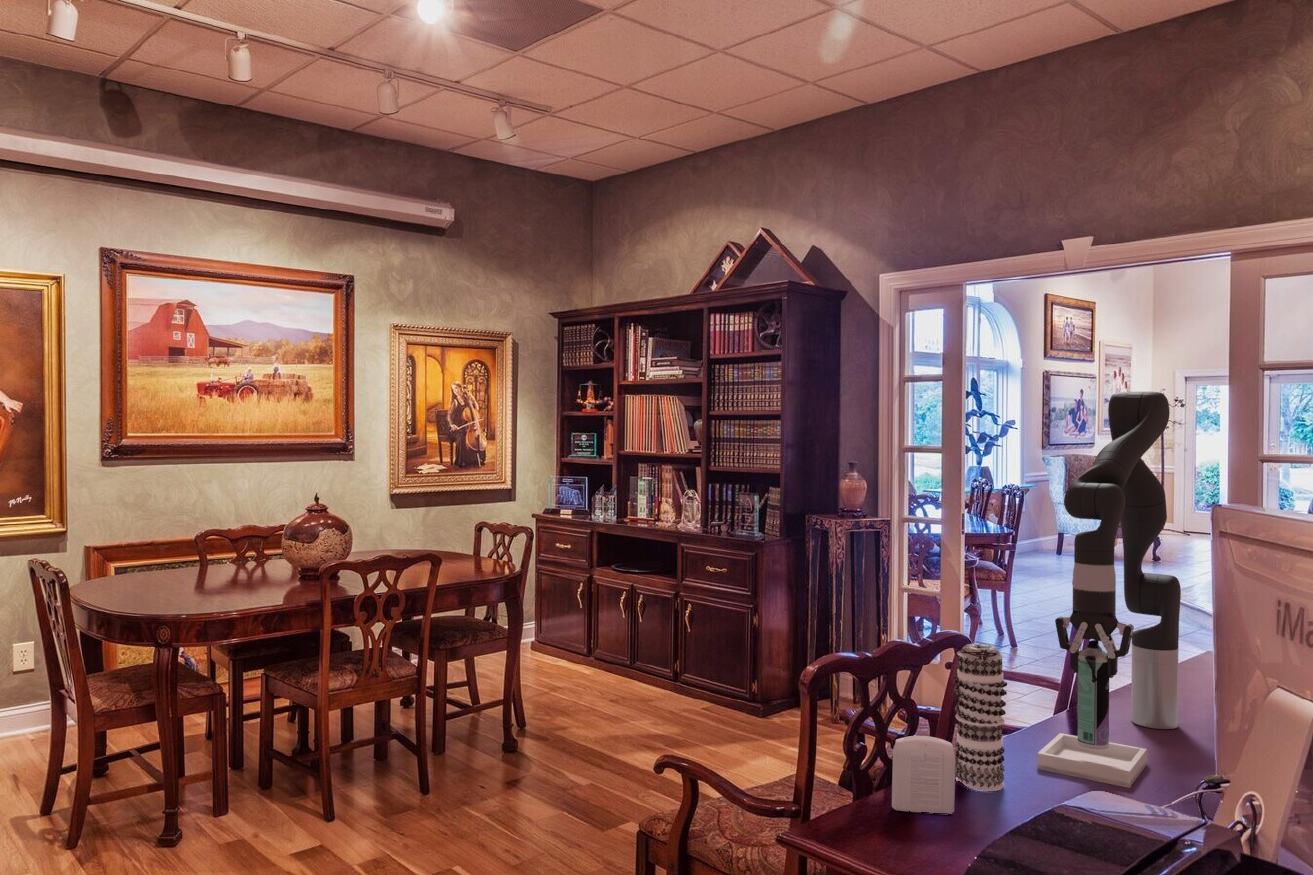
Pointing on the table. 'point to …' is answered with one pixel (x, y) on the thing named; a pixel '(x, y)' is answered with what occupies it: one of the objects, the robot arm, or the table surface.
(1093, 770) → the tray
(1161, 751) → the table surface
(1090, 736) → the spray can
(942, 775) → the white rounded block
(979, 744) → the decorative candle
